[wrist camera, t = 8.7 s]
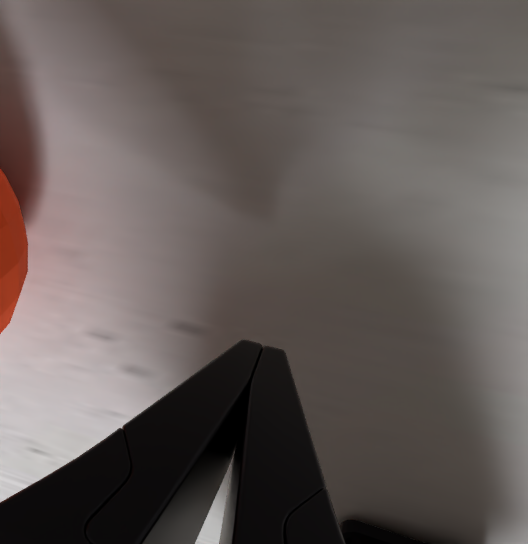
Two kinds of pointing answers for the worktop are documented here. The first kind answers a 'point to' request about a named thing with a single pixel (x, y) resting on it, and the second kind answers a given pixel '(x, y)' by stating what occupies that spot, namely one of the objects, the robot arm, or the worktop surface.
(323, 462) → the worktop surface
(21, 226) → the clementine
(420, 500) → the worktop surface
